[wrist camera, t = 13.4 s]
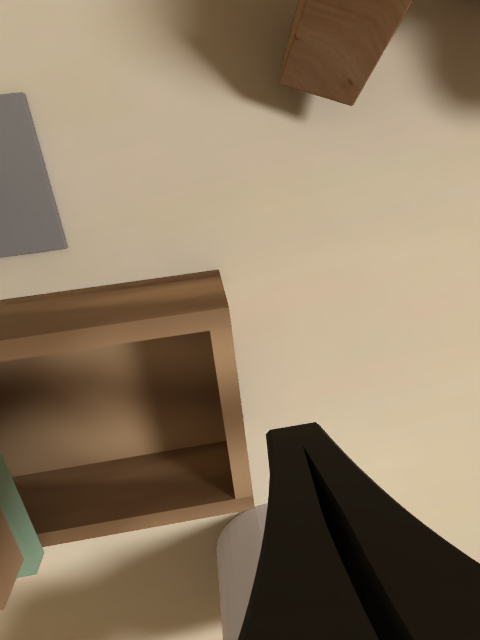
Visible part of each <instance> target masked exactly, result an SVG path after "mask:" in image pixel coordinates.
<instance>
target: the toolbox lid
mask: <svg viewBox="0 0 480 640" xmlns="http://www.w3.org/2000/svg"><path fill="white" fill-rule="evenodd" d="M43 555H44V551H43V548H42V546H41V544H40V541H39V539H38V537H37V534H36V532H35V530H34V527H33V525H32V523H31V520H30V518H29V516H28V514H27V511H26V509H25V507H24V504H23V502H22V500H21V497H20V495H19V493H18V490H17V488H16V486H15V484H14V481H13V479H12V477H11V474H10V472H9V470H8V467H7V465H6V463H5V460H4V458H3V456H2V453H1V451H0V610H4V608H5V606H6V603H7V601H8V598H9V596H10V593H11V590H12V588H13V585H14V583H15V580H16V578H19V577H25V576H30V575H35V574H37V572H38V569H39V566H40V563H41V561H42V558H43Z"/></svg>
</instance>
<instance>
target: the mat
mask: <svg viewBox="0 0 480 640" xmlns="http://www.w3.org/2000/svg"><path fill="white" fill-rule="evenodd" d="M67 247H68V246H67V242H66V238H65V235H64V231H63V228H62V224H61V220H60V217H59V213H58V210H57V206H56V203H55V199H54V195H53V192H52V188H51V185H50V181H49V177H48V174H47V170H46V167H45V163H44V160H43V156H42V152H41V149H40V145H39V142H38V138H37V135H36V131H35V127H34V124H33V120H32V117H31V113H30V109H29V106H28V102H27V99H26V95H25V94H24V93H11V94H2V95H0V257H7V256H14V255H22V254H29V253H37V252H44V251H52V250H60V249H66V248H67Z"/></svg>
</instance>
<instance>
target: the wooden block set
mask: <svg viewBox="0 0 480 640" xmlns="http://www.w3.org/2000/svg"><path fill="white" fill-rule="evenodd" d="M412 1H413V0H299V1H298V5H297V9H296V13H295V17H294V21H293V25H292V29H291V33H290V36H289V40H288V44H287V48H286V52H285V56H284V60H283V64H282V68H281V72H280V76H279V84H281V85H284V86H288V87H291V88H294V89H297V90H301V91H304V92H307V93H311V94H314V95H317V96H320V97H324V98H327V99H330V100H333V101H337V102H340V103H343V104H347V105H350V106H352V105H354V103H355V101H356V99H357V98H358V96H359V94H360V92H361V91H362V89H363V87H364V85H365V84H366V82H367V80H368V78H369V77H370V75H371V73H372V71H373V70H374V68H375V66H376V64H377V62H378V61H379V59H380V57H381V55H382V54H383V52H384V50H385V48H386V47H387V45H388V43H389V41H390V40H391V38H392V36H393V34H394V33H395V31H396V29H397V27H398V26H399V24H400V22H401V20H402V19H403V17H404V15H405V13H406V12H407V10H408V8H409V6H410V5H411V3H412Z"/></svg>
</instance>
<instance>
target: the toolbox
mask: <svg viewBox="0 0 480 640" xmlns="http://www.w3.org/2000/svg"><path fill="white" fill-rule="evenodd" d="M0 451H1V453H2V456H3V458H4V460H5V463H6V465H7V467H8V470H9V472H10V474H11V477H12V479H13V481H14V484H15V486H16V488H17V490H18V493H19V495H20V497H21V500H22V502H23V504H24V507H25V509H26V511H27V514H28V516H29V518H30V520H31V523H32V525H33V527H34V530H35V532H36V534H37V537H38V539H39V541H40V544H41V546H42V547H46V546H51V545H57V544H62V543H68V542H73V541H79V540H84V539H90V538H96V537H101V536H107V535H112V534H118V533H123V532H129V531H134V530H140V529H146V528H151V527H157V526H162V525H168V524H173V523H179V522H184V521H190V520H195V519H201V518H207V517H212V516H218V515H223V514H229V513H234V512H240V511H245V510H251V509H255V508H254V500H253V492H252V484H251V476H250V469H249V461H248V453H247V445H246V438H245V430H244V422H243V414H242V406H241V399H240V391H239V383H238V375H237V368H236V360H235V352H234V344H233V336H232V329H231V321H230V313H229V306H228V303H227V299H226V295H225V291H224V288H223V284H222V280H221V276H220V272H219V270H214V271H207V272H199V273H192V274H185V275H178V276H171V277H163V278H156V279H149V280H142V281H135V282H128V283H120V284H113V285H106V286H99V287H92V288H84V289H77V290H70V291H63V292H56V293H49V294H41V295H34V296H27V297H20V298H13V299H5V300H0Z"/></svg>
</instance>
